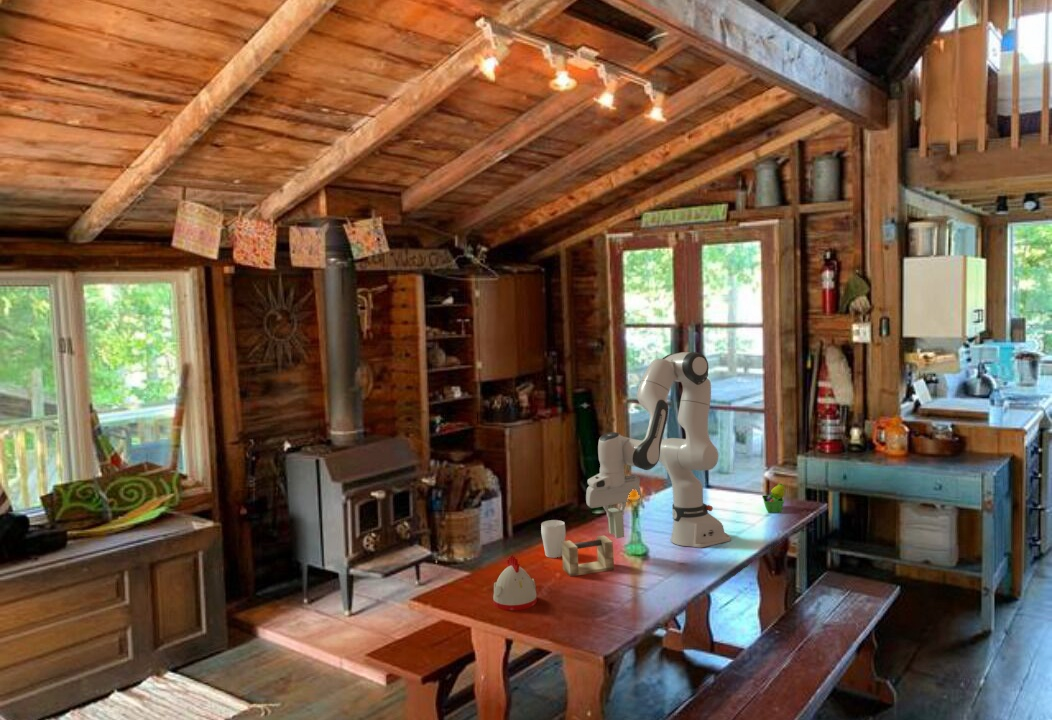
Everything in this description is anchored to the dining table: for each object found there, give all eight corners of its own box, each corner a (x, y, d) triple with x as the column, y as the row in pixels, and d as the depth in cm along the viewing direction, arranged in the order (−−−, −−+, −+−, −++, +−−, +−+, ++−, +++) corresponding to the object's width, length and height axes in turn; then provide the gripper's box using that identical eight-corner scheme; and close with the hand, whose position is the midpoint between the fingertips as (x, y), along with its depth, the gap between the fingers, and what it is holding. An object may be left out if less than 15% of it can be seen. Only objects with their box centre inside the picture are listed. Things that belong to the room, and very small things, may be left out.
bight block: (616, 531, 312) (615, 507, 311) (624, 537, 306) (622, 512, 304) (609, 532, 311) (607, 508, 310) (616, 538, 305) (614, 513, 304)
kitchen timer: (503, 613, 263) (500, 566, 262) (487, 599, 276) (484, 554, 274) (544, 604, 269) (541, 558, 267) (526, 591, 281) (524, 546, 280)
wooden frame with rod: (605, 562, 305) (604, 535, 304) (614, 569, 297) (612, 541, 296) (563, 569, 300) (561, 541, 299) (570, 576, 293) (569, 547, 292)
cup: (564, 559, 311) (563, 527, 310) (540, 558, 313) (538, 526, 312) (568, 551, 320) (566, 520, 319) (544, 551, 321) (543, 519, 320)
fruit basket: (761, 506, 366) (761, 480, 365) (783, 506, 365) (782, 480, 364) (765, 513, 355) (764, 487, 354) (787, 513, 354) (787, 486, 353)
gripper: (635, 472, 312) (638, 508, 313) (583, 480, 306) (586, 517, 308) (642, 475, 306) (645, 513, 307) (589, 484, 300) (592, 522, 302)
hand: (615, 515), depth 308 cm, fingers closed on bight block, 3 cm apart
